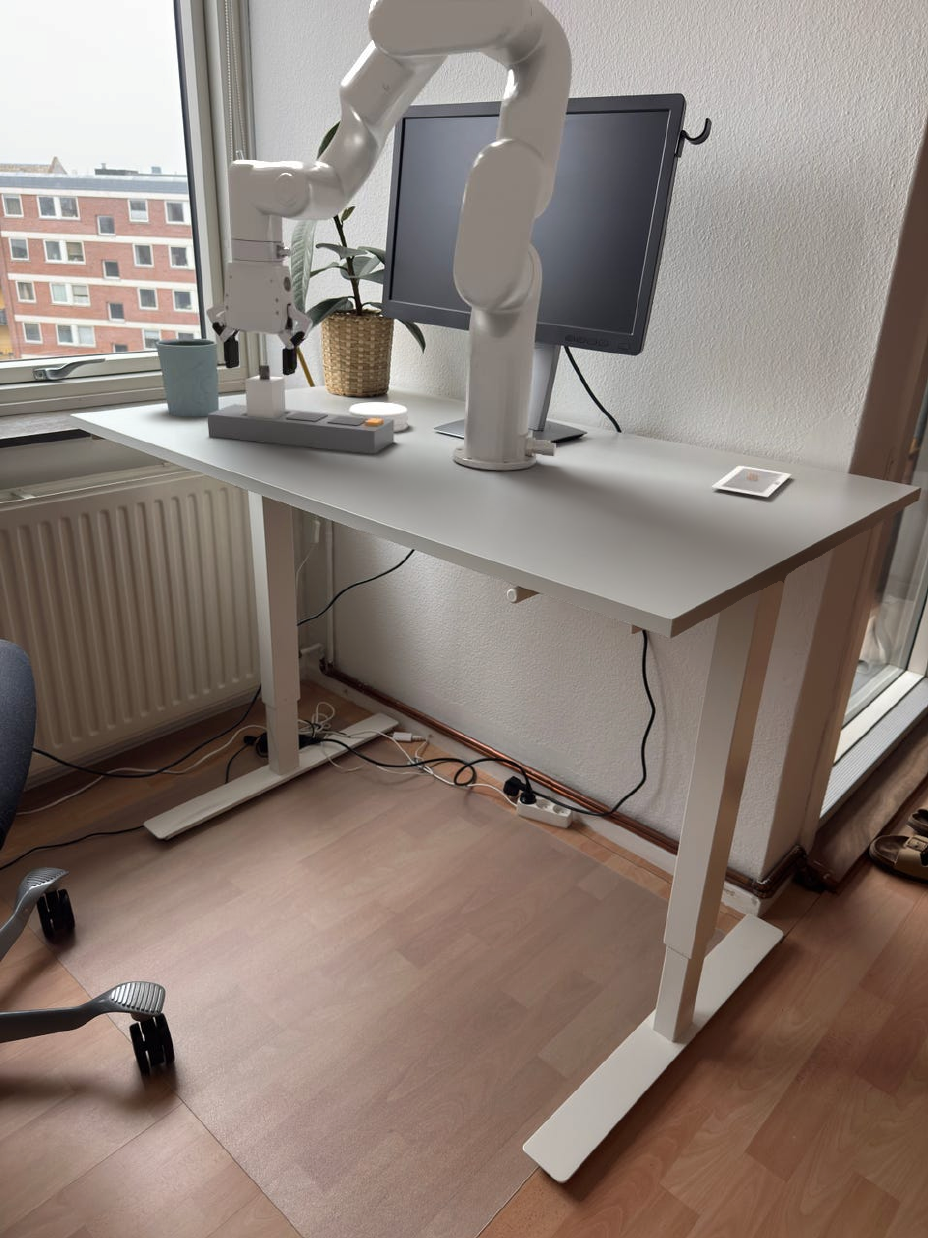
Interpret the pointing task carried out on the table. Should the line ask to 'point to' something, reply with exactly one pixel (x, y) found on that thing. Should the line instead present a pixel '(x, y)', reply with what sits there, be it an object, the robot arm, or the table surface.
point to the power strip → (304, 429)
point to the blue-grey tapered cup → (189, 376)
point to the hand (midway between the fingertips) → (260, 370)
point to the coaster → (382, 413)
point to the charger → (265, 395)
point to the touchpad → (752, 481)
